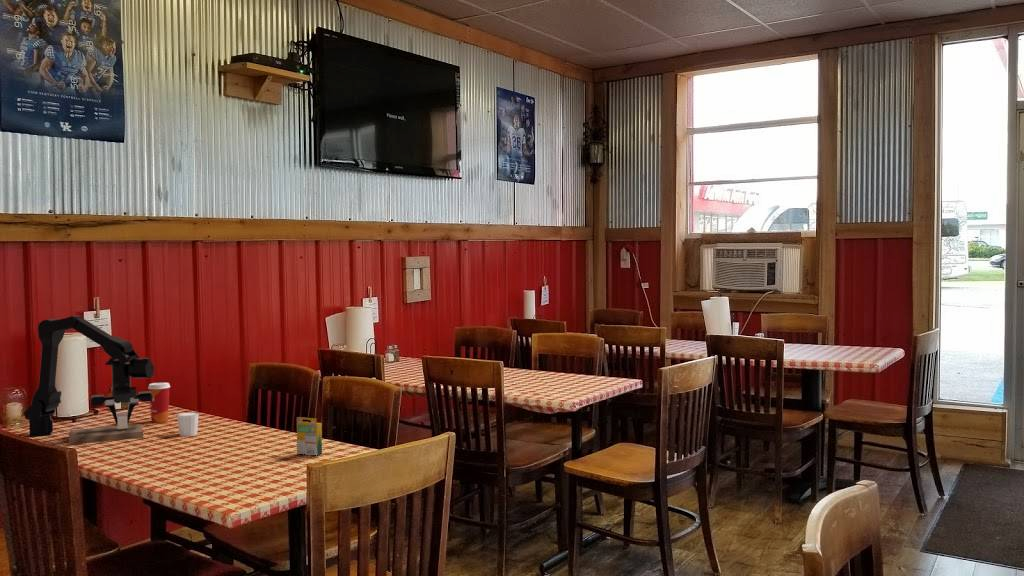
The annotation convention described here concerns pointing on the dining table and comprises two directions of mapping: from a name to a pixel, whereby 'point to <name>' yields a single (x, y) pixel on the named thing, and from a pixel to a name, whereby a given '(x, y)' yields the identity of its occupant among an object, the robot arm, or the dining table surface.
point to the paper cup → (159, 402)
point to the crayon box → (309, 436)
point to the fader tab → (122, 421)
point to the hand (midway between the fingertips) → (122, 423)
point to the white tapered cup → (188, 423)
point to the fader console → (104, 434)
